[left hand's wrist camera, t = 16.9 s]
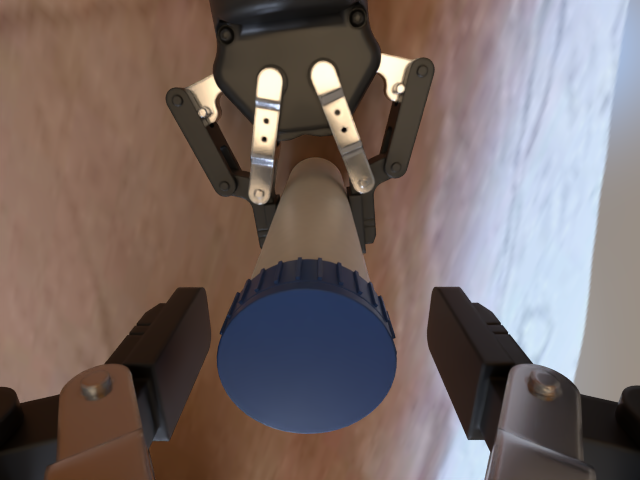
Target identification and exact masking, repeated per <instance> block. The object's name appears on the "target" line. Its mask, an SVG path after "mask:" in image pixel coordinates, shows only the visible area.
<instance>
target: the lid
mask: <svg viewBox="0 0 640 480" xmlns="http://www.w3.org/2000/svg"><path fill="white" fill-rule="evenodd" d="M220 334H221V335H222V336H221V339H220V342H219V346H218V352H217V368H218V373H219V377H220V380H221V383H222V385H223V387H224V389H225V391H226V393H227V394H228V396H229V397H230V398H231V400H232V401H233V402H234V403H235V404H236V405H237V406H238V407H239V408H240V409H241V410H242V411H243V412H244V413H246V414H247V415H248V416H250V417H251V418H253V419H255V420H256V421H258V422H260V423H262V424H264V425H267V426H269V427H272V428H275V429H278V430H282V431H286V432H293V433H304V434H311V433H323V432H329V431H334V430H338V429H341V428H344V427H346V426H349V425H351V424H353V423H355V422H357V421H359V420H361V419H362V418H364V417H365V416H367V415H368V414H369V413H371V412H372V411H373V410H374V409H375V408H376V407H377V406H378V405H379V404H380V403H381V402H382V401H383V399H384V398H385V397H386V395H387V393H388V392H389V390H390V388H391V386H392V383H393V380H394V377H395V372H396V364H397V357H396V355H397V351H396V348H395V345H394V341H393V339H394V338H395V334H394V331H393V328H392V324H391V321H390V318H389V315H388V312H387V311H386V308H385V305H384V302H383V299H382V297H381V296H378V295H377V294H376V292H375V291H374V288H373V284H372V283H371V282H369V283H367V281H365V280H364V279H363V278H362V277H361V276H359V272H358V271H356V270H355V271H354V272H353V271H352V270H350V269H348V268H346V267H343V266H342V265H341V263H340V262H337V264H335V263H332V262H329V261H324V260H322V258H318V260H316V259H302V257H298V260H292V261H287V262H283V261H279V262H278V264H277V265H275V266H272V267H270V268H268V269H266V270H265V268H263V269H261V271H260V273H259V274H258V275H257V276H255V277H254V278H253V279H252V280H250V279H248V280H247V281H246V283H245V286H244V288H243V290H242V291H241V293H238V292H237V294H236V296H235V298H234V300H233V303H232V305H231V307H230V309H229V312H228V314H227V316H226V319H225V321H224V324H223V326H222V328H221V331H220Z"/></svg>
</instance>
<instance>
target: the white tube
mask: <svg viewBox="0 0 640 480" xmlns="http://www.w3.org/2000/svg"><path fill="white" fill-rule="evenodd" d="M298 257H302V259H316V260H318V258H322V260H324V261H329V262H332V263H335V264H337V262H340V263H341V265H342V266H343V267H346V268H348V269H350V270H352V271H353V272H354V271H355V270H356V271H358V272H359V276H361V277H362V278H363V279H364V280H365V281H367V283H369V282H370V279H369V275H368V272H367V268H366V264H365V261H364V257H363V253H362V249H361V246H360V242H359V238H358V235H357V231H356V227H355V223H354V220H353V216H352V212H351V209H350V205H349V201H348V197H347V194H346V190H345V186H344V182H343V179H342V175H341V173H340V171H339V169H338V168H337V167H336V166H335V165H334V164H333V163H332V162H330V161H328V160H326V159H323V158H318V157H312V158H307V159H305V160H302V161H301V162H299V163H298V164H297V165H296V166H295V167H294V168H293V169H292V171H291V173H290V175H289V178H288V181H287V183H286V186H285V189H284V191H283V194H282V197H281V199H280V202H279V205H278V207H277V210H276V213H275V215H274V218H273V220H272V223H271V226H270V228H269V231H268V234H267V236H266V239H265V242H264V244H263V247H262V250H261V252H260V255H259V258H258V260H257V263H256V266H255V268H254V271H253V274H252V276H251V279H250V280H252V279H253V278H254V277H255V276H257V275H258V274H259V273H260V271H261V269H263V268H265V270H266V269H268V268H270V267H272V266H275V265H277V264H278V262H279V261H283V262H287V261H292V260H298Z"/></svg>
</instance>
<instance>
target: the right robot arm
mask: <svg viewBox="0 0 640 480" xmlns="http://www.w3.org/2000/svg"><path fill="white" fill-rule="evenodd" d="M209 1H210V7H211V12H212V17H213V22H214V28H215V33H216V38H217V53H216V58H215V61H214V64H213V74H212V75H210V76H208V77H206V78H204V79H202V80H200V81H198V82H196V83H194V84H193V85H191V86H189V87H187V88H172V89H170V90H169V91H168V92H167V94H166V103H167V106H168V107H169V109H170V111H171V113H172V115H173V116H174V118H175V120H176V122H177V123H178V125H179V127H180V129H181V131H182V132H183V134H184V136H185V138H186V139H187V141H188V143H189V145H190V147H191V148H192V150H193V152H194V154H195V155H196V157H197V159H198V161H199V163H200V164H201V166H202V168H203V170H204V171H205V173H206V175H207V177H208V179H209V180H210V182H211V184H212V186H213V187H214V189H215V191H216V192H217V193H218V194H219V195H221V196H224V197H227V196H231V195H232V196H236V197H240V198H244V199H246V200H247V201H249V202H250V204H251V205H252V207H253V212H254V217H255V222H256V228H257V233H258V237H259V244H260V248H261V249H262V247H263V244H264V242H265V239H266V236H267V234H268V231H269V228H270V226H271V223H272V220H273V218H274V215H275V213H276V210H277V207H278V205H279V202H280V194H277V195H276V194H275V182H276V175H277V167H278V159H279V155H280V149H281V141H285V140H291V139H294V138H296V137H299V136H301V135H304V134H308V135H314V136H328V135H333V136H334V139H335V141H336V144H337V146H338V149H339V151H340V154H341V156H342V159H343V161H344V164H345V167H346V169H347V172H348V174H349V182H350V187H347V197H348V201H349V205H350V209H351V212H352V216H353V220H354V223H355V227H356V231H357V235H358V238H359V242H360V246H361V249H362V253H363V254H364V253H366V248H365V244H370V243H373V242H374V239H375V236H376V227H375V211H374V191H375V189H376V187H377V186H378V185H379V184H380V183H382V182H384V181H386V180H388V179H390V178H399V177H401V176H403V175H404V174H405V173H406V171H407V167H408V164H409V160H410V157H411V153H412V150H413V146H414V143H415V139H416V136H417V132H418V129H419V125H420V121H421V118H422V114H423V111H424V107H425V104H426V100H427V97H428V93H429V90H430V86H431V83H432V79H433V76H434V70H435V69H434V64H433V63H432V61H431V60H430V59H428V58H417V59H414V60H411V59H407V58H402V57H398V56H393V55H389V54H384V53H381V50H380V46H379V44H378V42H377V41H376V39H375V37H374V36H373V33H372V31H371V28H370V24H369V18H368V1H367V0H209ZM376 74H378V75H379V76H380V77H381V78H382V79H383V82H384V89H383V91H384V95H385V97H386V98H387V99H388V100H390V101H393V102H392V106H391V110H390V114H389V118H388V122H387V126H386V130H385V134H384V138H383V142H382V146H381V150H380V154H379V155H377V156H375V157H373V158H371V159H369V160H367V157H366V155H365V152H364V149H363V145H362V142H361V139H360V137H359V134H358V131H357V128H356V126H355V123H354V120H353V117H352V115H353V114H354V112H355V110H356V108H357V106H358V105H359V103H360V101H361V99H362V98H363V96H364V94H365V92H366V91H367V89H368V87H369V85H370V84H371V82H372V80H373V78H374V76H375V75H376ZM223 93H224V94H225V96H226V97H227V98H228V99H229V100H230V101H231V102H232V103H233V104H234V105H235V106H236V107H237V108H238V109H239V110H240V112H241V113H242V114H243V115H244V116H245V117H246V118H247V119H248V120H249V121H250V122H251V123H252V124H253V125H254V126H253V136H252V146H251V171H250V172H246V171H242V170H241V168H240V166H239V164H238V162H237V160H236V158H235V157H234V155H233V153H232V151H231V149H230V147H229V145H228V143H227V141H226V139H225V137H224V136H223V134H222V132H221V130H220V128H219V126H218V124H217V121H219V119H220V118H221V115H222V110H221V107H220V97H221V95H222V94H223Z"/></svg>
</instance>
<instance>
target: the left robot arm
mask: <svg viewBox="0 0 640 480" xmlns="http://www.w3.org/2000/svg"><path fill="white" fill-rule="evenodd" d="M427 341H428V346H429V350H430V352H431V355H432V357H433V359H434V362H435V364H436V366H437V369H438V371H439V373H440V376H441V378H442V380H443V383H444V385H445V387H446V390H447V392H448V394H449V397H450V399H451V401H452V404H453V406H454V408H455V411H456V413H457V415H458V418H459V420H460V422H461V425H462V427H463V429H464V432H465V434H466V436H467V439H468V440H485V442H486V444H487V446H488V448H489V450H490V456H489V460H488V465H487V470H486V475H485V479H484V480H640V386H630V387H627V388H625V389H624V390H623V392H622V395H621V397H620V400H619V402H613V401H609V400H604V399H600V398H595V397H591V396H586V395H582V394H580V393H579V390H578V389H577V387H576V386H575V385H574V384H573V383H572V382H571V381H570V380H569V379H568V378H566V377H565V376H564V375H562V374H560V373H558V372H557V371H555V370H552V369H550V368H547V367H544V366H541V365H536V364H533V363H532V362H531V361H530V359H529V358H528V357H527V355H526V354H525V353H524V352H523V350H522V349H521V348H520V347H519V345H518V344H517V343H516V342H515V340H514V339H513V338H512V337H511V335H510V334H508V331H507V330H506V329H505V328H504V326H503V325H501V323H500V321H499V320H498V319H497V318H496V316H495V315H494V314H493V313H492V312H491V311H490V310H488V309H487V308H485V307H484V306H482V305H481V304H479V303H471V301H470V300H469V299H468V297H467V296H466V294H465V293H464V292H463V290H462V289H461V288H460V287H434V288H433V291H432V295H431V303H430V311H429V319H428V327H427ZM210 342H211V327H210V319H209V311H208V303H207V296H206V291H205V289H204V288H203V287H179V288H177V289H176V291H175V292H174V293H173V295H172V296H171V297H170V299H169V300H168V301H167V303H160V304H158V305H157V306H155V307H153V308H152V309H150V310H149V311H147V312H146V313H145V314H144V315H143V316H142V318H141V319H140V320H139V321H138V323H137V326H134V328H133V329H132V330H131V331H130V333H129V335H127V336H126V338H125V339H124V340H123V341H122V343H121V344H120V345H119V346H118V348H117V349H116V350H115V351H114V353H113V354H112V355H111V356H110V358H109V359H108V360H107V361H106V363H105V364H104V365H99V366H96V367H93V368H90V369H88V370H85V371H83V372H82V373H80V374H78V375H76V376H75V377H74V378H72V379H71V380H70V381H69V382H68V383H67V384H66V385H65V386H64V387H63V389H62V390H61V392H60V394H59V395H55V396H51V397H46V398H42V399H37V400H33V401H28V402H24V403H20V402H19V400H18V397H17V394H16V392H15V391H14V390H13V389H11V388H8V387H0V480H156V479H155V475H154V470H153V465H152V460H151V456H150V452H149V447H150V445H151V443H152V441H169V440H170V438H171V436H172V434H173V431H174V429H175V427H176V424H177V422H178V420H179V417H180V415H181V413H182V411H183V408H184V406H185V404H186V401H187V399H188V397H189V394H190V392H191V390H192V388H193V385H194V383H195V381H196V378H197V376H198V374H199V371H200V369H201V367H202V365H203V362H204V360H205V358H206V355H207V353H208V351H209V347H210Z"/></svg>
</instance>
